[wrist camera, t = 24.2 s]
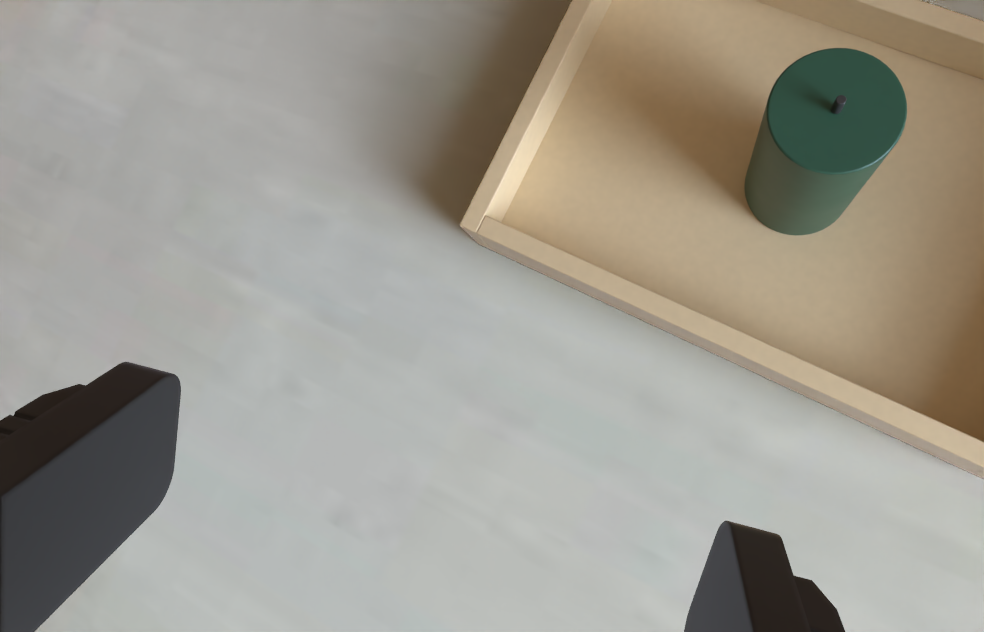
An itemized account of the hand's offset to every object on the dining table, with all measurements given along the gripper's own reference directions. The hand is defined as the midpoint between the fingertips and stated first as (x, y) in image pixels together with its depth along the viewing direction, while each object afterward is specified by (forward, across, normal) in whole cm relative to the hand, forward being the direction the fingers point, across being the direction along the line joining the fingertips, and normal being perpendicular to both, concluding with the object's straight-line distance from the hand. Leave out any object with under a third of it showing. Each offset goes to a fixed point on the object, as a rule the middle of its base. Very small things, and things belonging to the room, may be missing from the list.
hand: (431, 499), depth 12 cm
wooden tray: (+25, -9, -2) cm, 26 cm away
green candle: (+24, -9, -3) cm, 26 cm away
